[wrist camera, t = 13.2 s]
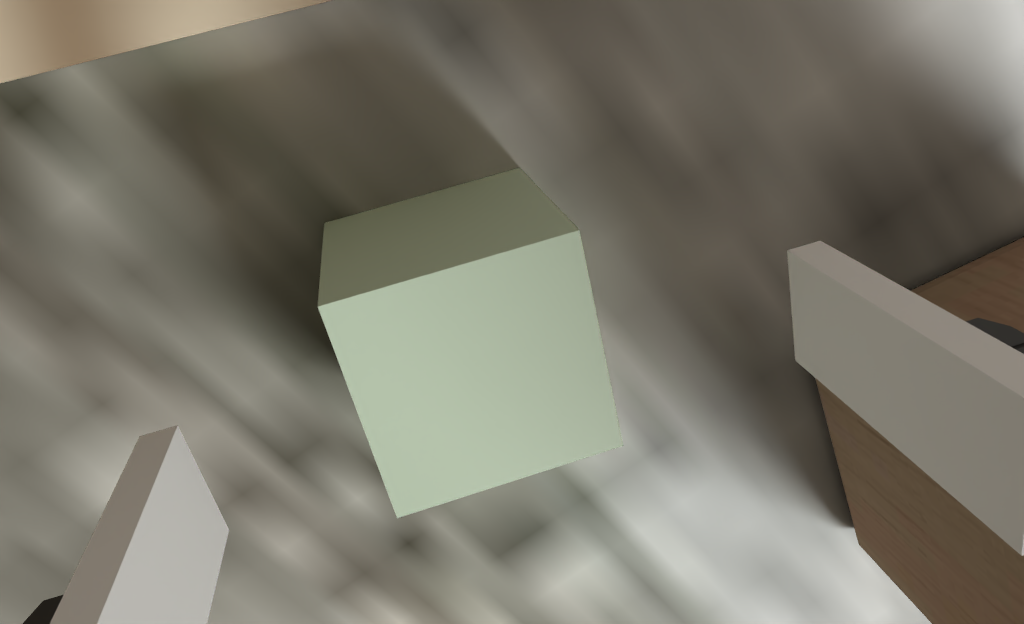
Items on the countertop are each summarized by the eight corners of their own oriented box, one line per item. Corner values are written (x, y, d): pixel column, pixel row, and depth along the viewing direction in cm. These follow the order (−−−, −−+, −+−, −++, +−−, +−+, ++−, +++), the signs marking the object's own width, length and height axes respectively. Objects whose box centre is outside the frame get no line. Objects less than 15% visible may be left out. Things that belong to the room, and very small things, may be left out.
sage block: (384, 392, 23) (397, 518, 18) (324, 222, 21) (317, 306, 15) (558, 339, 24) (623, 445, 18) (519, 167, 21) (579, 230, 16)
